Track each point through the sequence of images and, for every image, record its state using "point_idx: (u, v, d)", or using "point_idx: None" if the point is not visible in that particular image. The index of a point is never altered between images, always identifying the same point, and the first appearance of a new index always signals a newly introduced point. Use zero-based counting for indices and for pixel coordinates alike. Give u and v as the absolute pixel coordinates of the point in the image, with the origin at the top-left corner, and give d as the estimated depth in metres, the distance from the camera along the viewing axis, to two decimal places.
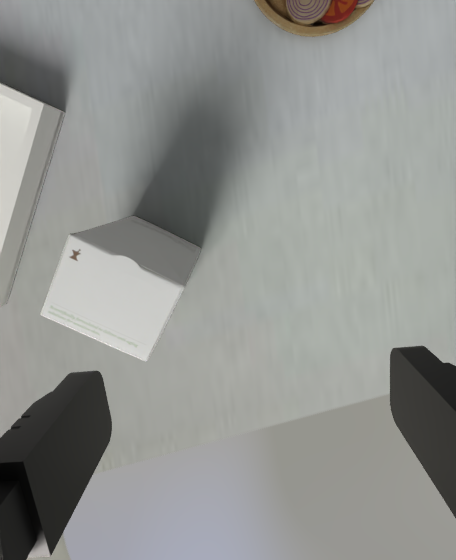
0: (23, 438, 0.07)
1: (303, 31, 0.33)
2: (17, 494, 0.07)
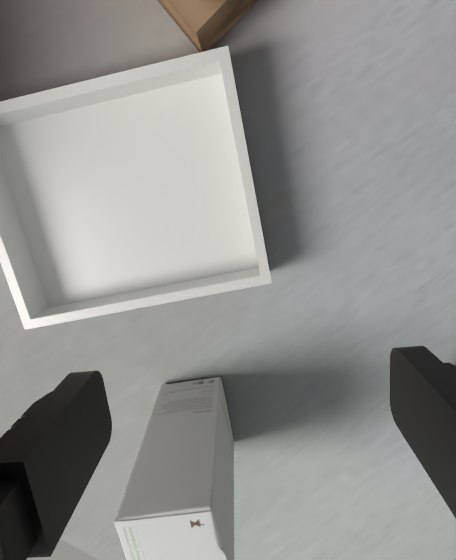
0: (23, 438, 0.07)
1: None
2: (17, 494, 0.07)
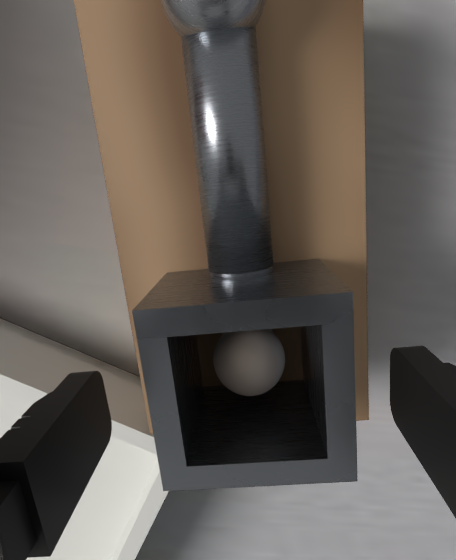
0: (23, 438, 0.07)
1: None
2: (17, 494, 0.07)
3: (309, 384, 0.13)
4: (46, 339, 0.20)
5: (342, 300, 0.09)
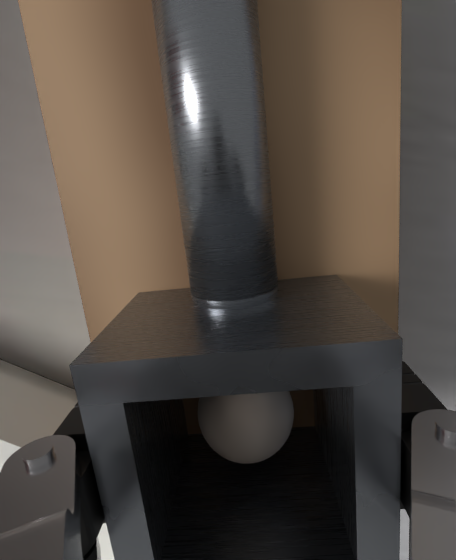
0: None
1: None
2: None
3: (325, 441, 0.10)
4: (5, 363, 0.17)
5: (385, 351, 0.06)
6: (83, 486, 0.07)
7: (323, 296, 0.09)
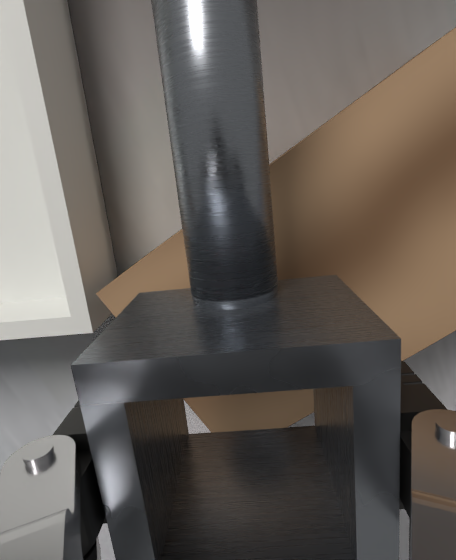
0: None
1: None
2: None
3: (325, 440, 0.10)
4: (87, 119, 0.17)
5: (384, 351, 0.06)
6: (83, 486, 0.07)
7: (323, 296, 0.09)
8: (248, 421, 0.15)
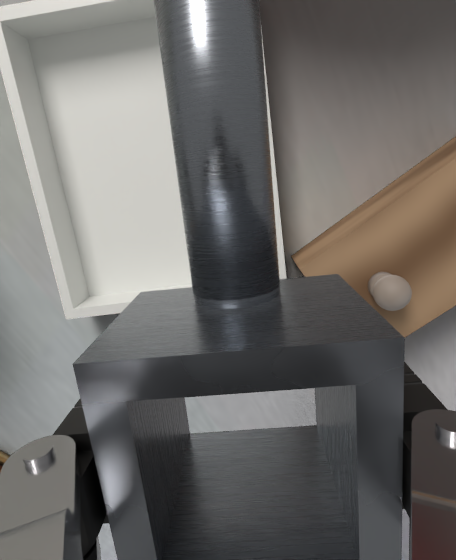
0: None
1: None
2: None
3: (326, 440, 0.10)
4: None
5: (387, 350, 0.06)
6: (83, 486, 0.07)
7: (325, 295, 0.09)
8: None
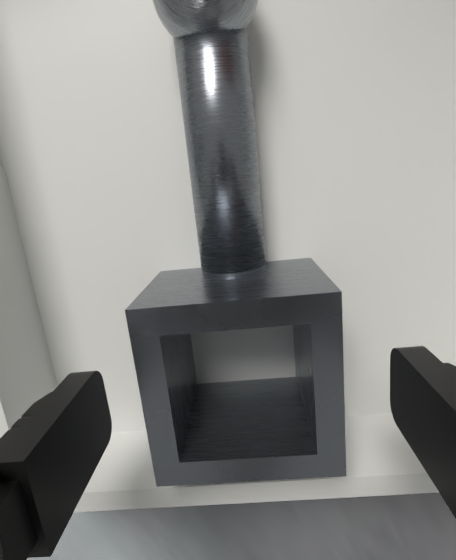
0: (23, 438, 0.07)
1: None
2: (17, 494, 0.07)
3: (301, 381, 0.13)
4: None
5: (331, 300, 0.09)
6: None
7: (297, 271, 0.12)
8: None
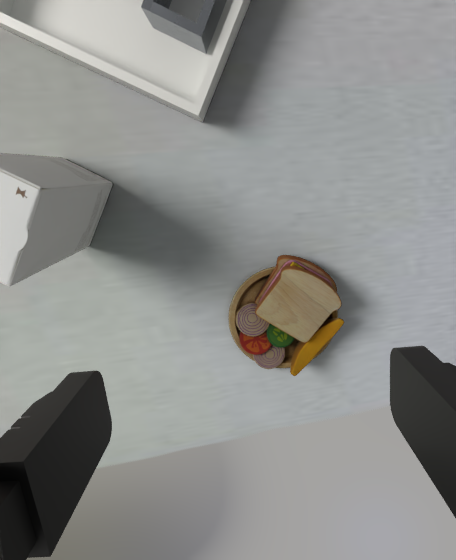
0: (23, 438, 0.07)
1: (230, 320, 0.43)
2: (17, 494, 0.07)
3: None
4: None
5: None
6: None
7: None
8: None
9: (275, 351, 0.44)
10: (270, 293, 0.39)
